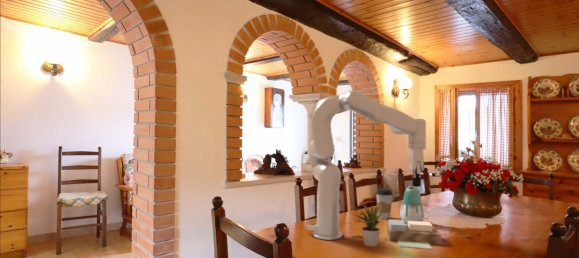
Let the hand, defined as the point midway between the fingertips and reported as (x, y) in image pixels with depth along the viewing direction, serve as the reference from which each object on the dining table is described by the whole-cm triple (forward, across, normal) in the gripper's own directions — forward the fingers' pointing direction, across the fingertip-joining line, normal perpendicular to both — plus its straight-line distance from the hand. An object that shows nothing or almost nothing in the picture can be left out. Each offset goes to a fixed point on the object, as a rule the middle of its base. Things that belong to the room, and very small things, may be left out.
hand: (416, 186), depth 157 cm
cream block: (+17, +9, 0) cm, 19 cm away
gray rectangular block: (+17, +10, -10) cm, 22 cm away
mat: (+21, +20, -4) cm, 29 cm away
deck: (+21, +10, -3) cm, 24 cm away
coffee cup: (+21, -25, -12) cm, 35 cm away
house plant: (+21, +21, -21) cm, 37 cm away
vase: (+21, -17, +1) cm, 27 cm away
